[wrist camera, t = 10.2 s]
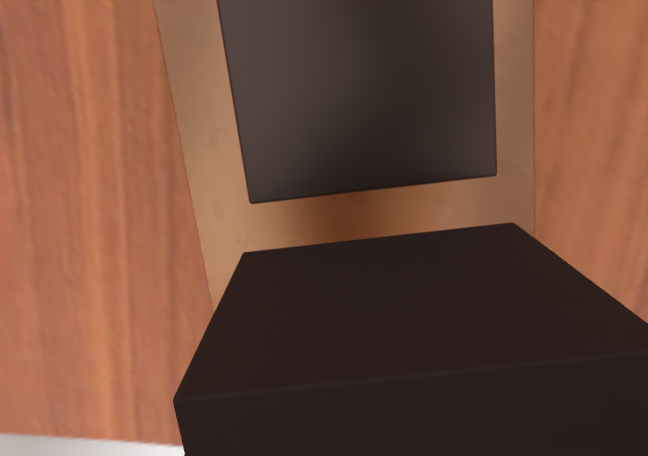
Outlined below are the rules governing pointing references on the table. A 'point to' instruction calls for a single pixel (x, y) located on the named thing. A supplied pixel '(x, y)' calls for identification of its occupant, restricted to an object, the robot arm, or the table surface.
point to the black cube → (417, 353)
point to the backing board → (343, 209)
